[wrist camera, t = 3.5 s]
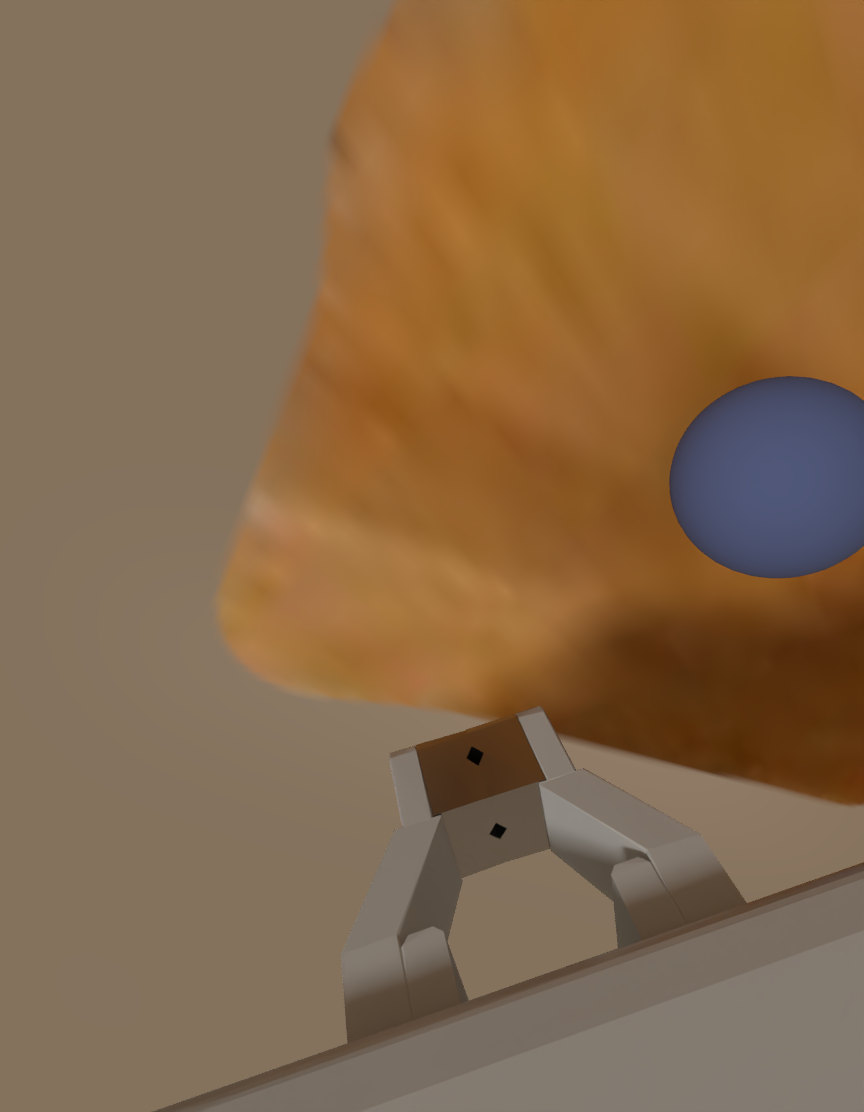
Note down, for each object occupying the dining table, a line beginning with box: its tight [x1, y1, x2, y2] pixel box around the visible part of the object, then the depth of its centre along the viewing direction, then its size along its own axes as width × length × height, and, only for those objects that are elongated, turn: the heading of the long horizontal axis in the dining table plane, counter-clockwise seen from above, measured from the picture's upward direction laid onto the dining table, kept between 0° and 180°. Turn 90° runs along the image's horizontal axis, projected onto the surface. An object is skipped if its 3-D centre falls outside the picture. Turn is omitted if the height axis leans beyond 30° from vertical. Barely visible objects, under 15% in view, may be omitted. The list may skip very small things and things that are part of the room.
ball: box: [669, 376, 864, 578], centre depth 17 cm, size 6×6×6 cm
